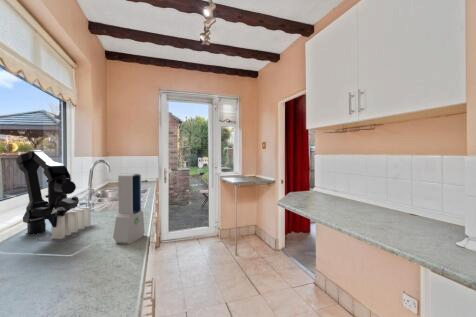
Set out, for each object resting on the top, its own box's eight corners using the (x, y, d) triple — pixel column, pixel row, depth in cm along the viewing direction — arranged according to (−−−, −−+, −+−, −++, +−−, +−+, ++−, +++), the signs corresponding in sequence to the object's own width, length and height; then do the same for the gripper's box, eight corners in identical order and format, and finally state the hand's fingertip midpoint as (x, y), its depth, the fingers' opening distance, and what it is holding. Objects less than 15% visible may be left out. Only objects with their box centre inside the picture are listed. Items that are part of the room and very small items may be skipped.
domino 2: (58, 235, 110) (58, 214, 110) (61, 233, 112) (61, 213, 112) (68, 235, 110) (68, 214, 110) (71, 234, 112) (70, 213, 111)
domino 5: (79, 226, 124) (79, 207, 123) (81, 225, 125) (81, 206, 125) (88, 226, 123) (88, 207, 123) (90, 225, 125) (90, 207, 125)
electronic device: (127, 245, 100) (127, 174, 99) (112, 243, 101) (111, 174, 101) (145, 235, 112) (144, 172, 111) (131, 234, 113) (130, 172, 113)
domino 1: (51, 238, 106) (51, 216, 106) (54, 237, 108) (54, 215, 107) (62, 238, 106) (61, 216, 105) (64, 237, 107) (64, 215, 107)
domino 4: (73, 229, 119) (72, 209, 119) (75, 228, 121) (75, 208, 121) (82, 229, 119) (82, 209, 119) (84, 228, 120) (84, 209, 120)
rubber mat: (36, 242, 103) (36, 241, 103) (77, 225, 127) (77, 224, 127) (61, 243, 102) (61, 241, 102) (98, 226, 126) (98, 225, 126)
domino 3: (66, 232, 115) (65, 211, 115) (68, 230, 116) (68, 210, 116) (75, 232, 114) (75, 211, 114) (78, 231, 116) (77, 211, 116)
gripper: (54, 196, 96) (55, 234, 97) (87, 189, 115) (88, 221, 115) (29, 196, 97) (30, 233, 98) (66, 189, 116) (66, 220, 116)
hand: (56, 226), depth 107 cm, fingers closed on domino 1, 2 cm apart
